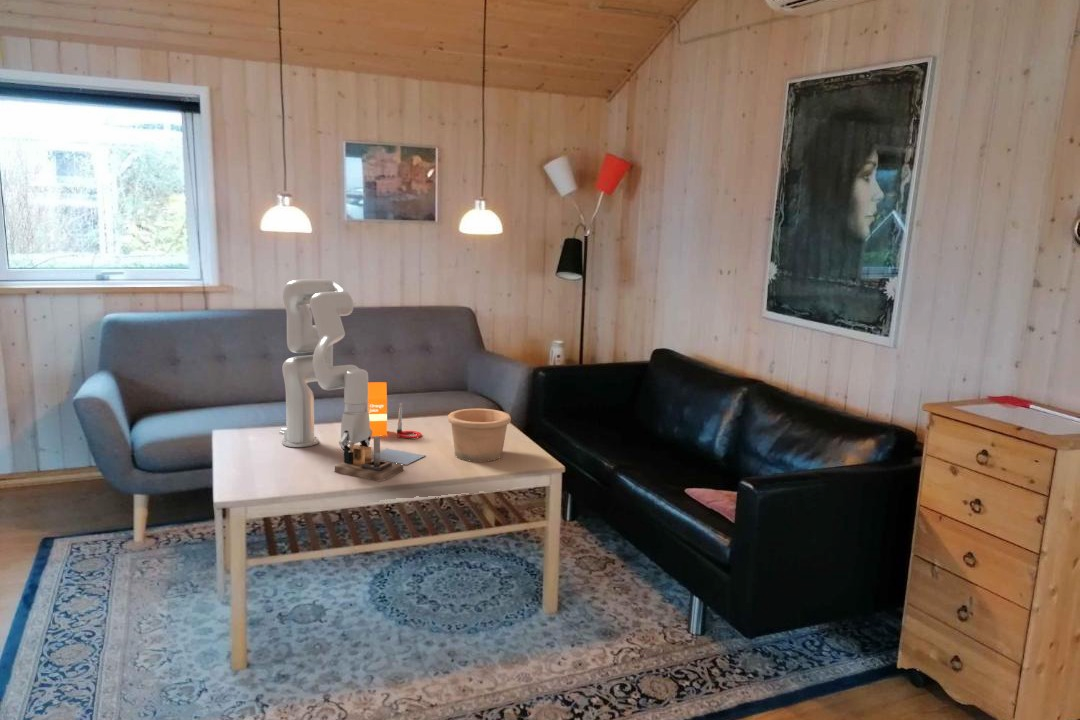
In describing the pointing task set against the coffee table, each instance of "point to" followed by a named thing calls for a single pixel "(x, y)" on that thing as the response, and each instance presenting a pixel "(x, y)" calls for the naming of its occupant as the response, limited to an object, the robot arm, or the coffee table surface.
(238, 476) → the coffee table surface
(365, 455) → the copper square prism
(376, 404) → the orange juice
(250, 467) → the coffee table surface
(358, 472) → the post stand
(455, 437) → the pottery
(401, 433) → the tow hook
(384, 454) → the mat
